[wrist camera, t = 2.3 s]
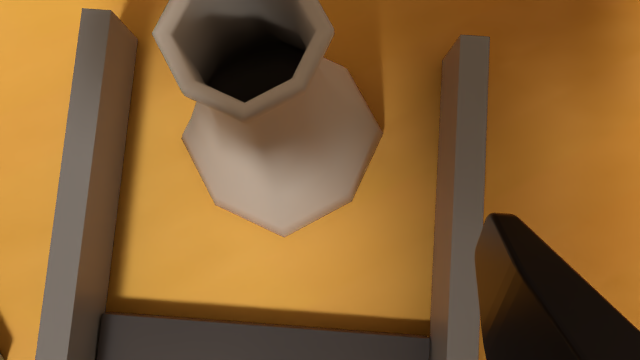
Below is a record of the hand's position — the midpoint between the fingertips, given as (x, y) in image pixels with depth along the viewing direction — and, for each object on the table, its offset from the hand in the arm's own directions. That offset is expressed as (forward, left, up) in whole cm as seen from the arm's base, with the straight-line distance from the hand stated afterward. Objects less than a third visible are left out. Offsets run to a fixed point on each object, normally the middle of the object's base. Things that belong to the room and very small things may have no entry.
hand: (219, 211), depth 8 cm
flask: (+2, -3, -11) cm, 11 cm away
